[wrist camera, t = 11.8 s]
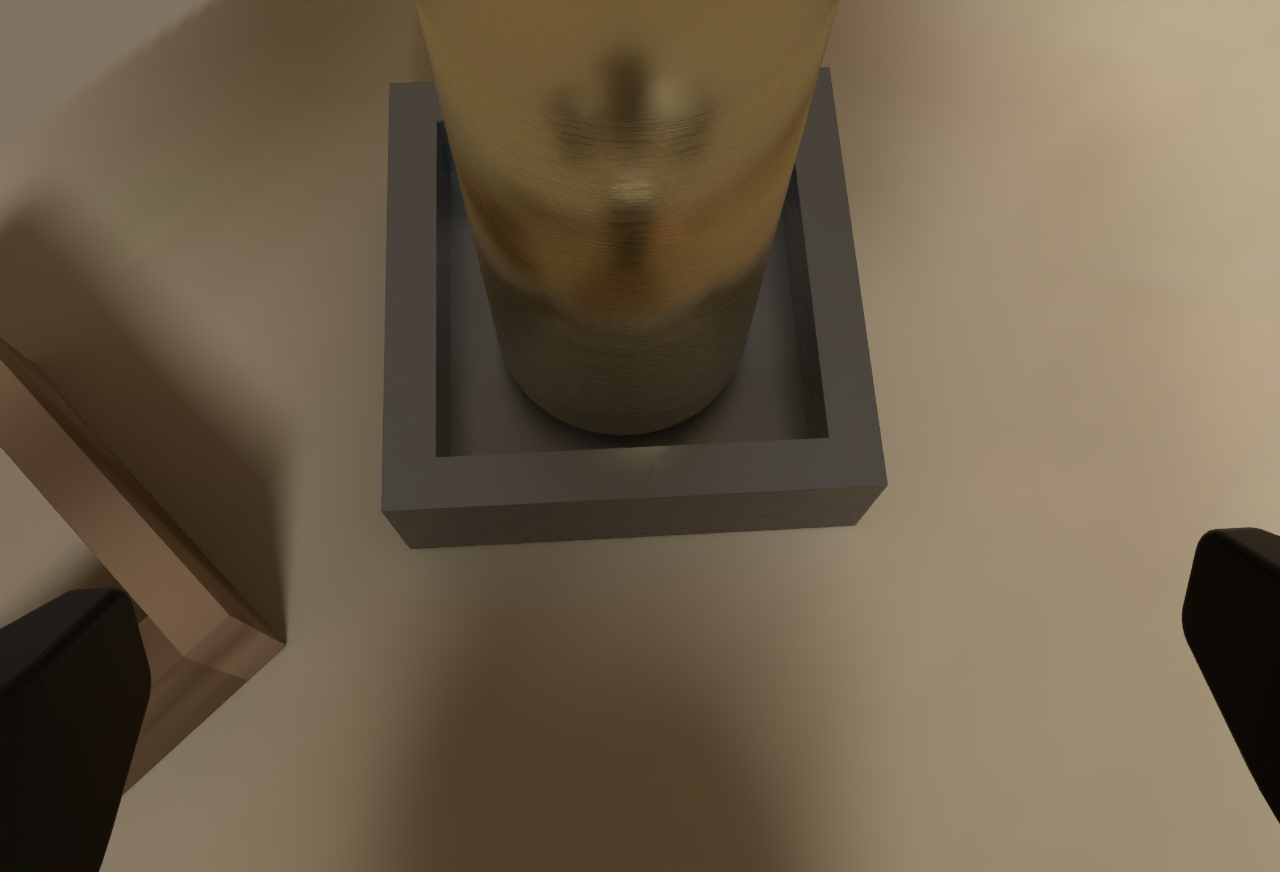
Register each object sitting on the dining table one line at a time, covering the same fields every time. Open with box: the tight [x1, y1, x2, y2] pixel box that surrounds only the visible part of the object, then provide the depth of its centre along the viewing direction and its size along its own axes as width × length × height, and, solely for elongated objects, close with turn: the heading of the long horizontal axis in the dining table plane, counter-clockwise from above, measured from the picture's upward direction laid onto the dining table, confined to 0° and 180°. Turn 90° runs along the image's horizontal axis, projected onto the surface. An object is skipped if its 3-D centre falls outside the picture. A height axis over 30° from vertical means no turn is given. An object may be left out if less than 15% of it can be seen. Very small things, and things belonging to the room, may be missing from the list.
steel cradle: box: [382, 67, 888, 549], centre depth 24 cm, size 10×10×3 cm
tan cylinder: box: [414, 0, 838, 435], centre depth 19 cm, size 6×6×11 cm
